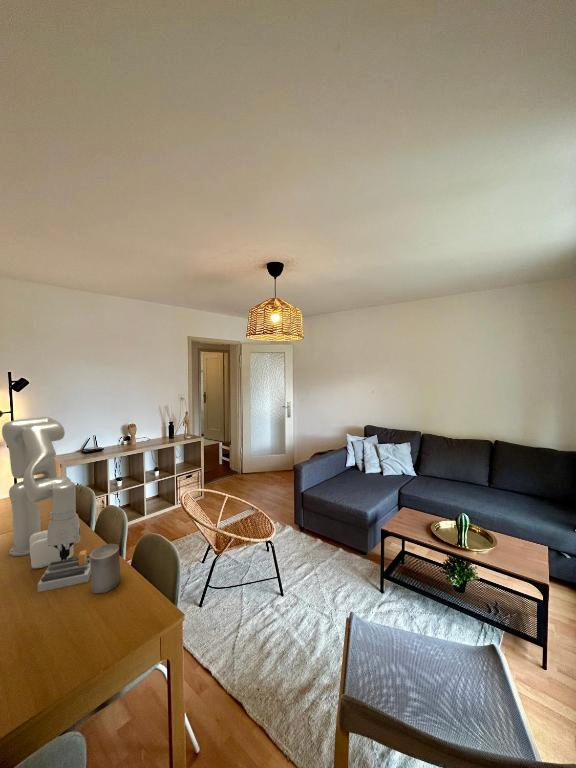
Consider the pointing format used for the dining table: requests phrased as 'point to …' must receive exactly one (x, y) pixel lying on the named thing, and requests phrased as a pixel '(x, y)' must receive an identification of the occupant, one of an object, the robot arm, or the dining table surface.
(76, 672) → the dining table surface
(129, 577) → the dining table surface
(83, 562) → the lever
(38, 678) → the dining table surface
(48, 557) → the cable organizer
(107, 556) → the pillar candle
